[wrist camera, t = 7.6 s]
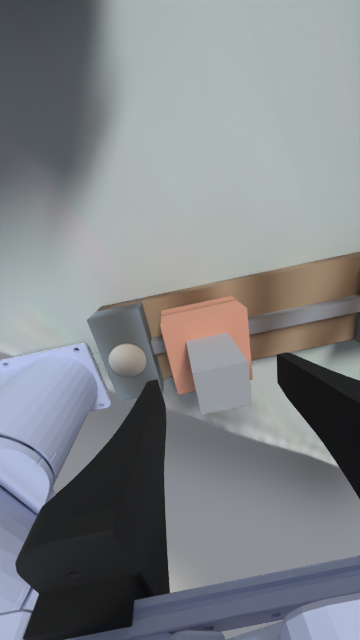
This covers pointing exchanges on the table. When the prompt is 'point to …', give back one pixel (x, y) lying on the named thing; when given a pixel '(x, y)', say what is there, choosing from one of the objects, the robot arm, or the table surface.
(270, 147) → the table surface
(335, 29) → the table surface
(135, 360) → the rail
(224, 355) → the carriage
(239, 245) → the table surface
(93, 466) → the robot arm
